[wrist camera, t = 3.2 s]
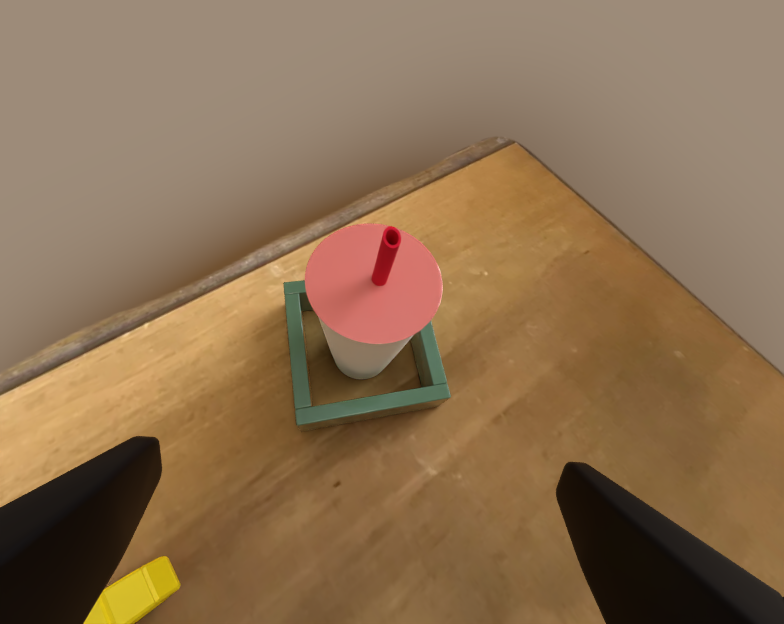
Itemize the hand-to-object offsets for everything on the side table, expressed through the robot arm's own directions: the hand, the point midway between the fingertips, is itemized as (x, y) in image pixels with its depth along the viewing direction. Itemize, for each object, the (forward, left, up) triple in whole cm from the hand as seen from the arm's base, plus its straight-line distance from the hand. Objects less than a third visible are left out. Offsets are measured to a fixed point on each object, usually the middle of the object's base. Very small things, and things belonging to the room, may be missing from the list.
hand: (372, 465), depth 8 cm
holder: (+2, +7, -12) cm, 14 cm away
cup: (+2, +7, -13) cm, 14 cm away
